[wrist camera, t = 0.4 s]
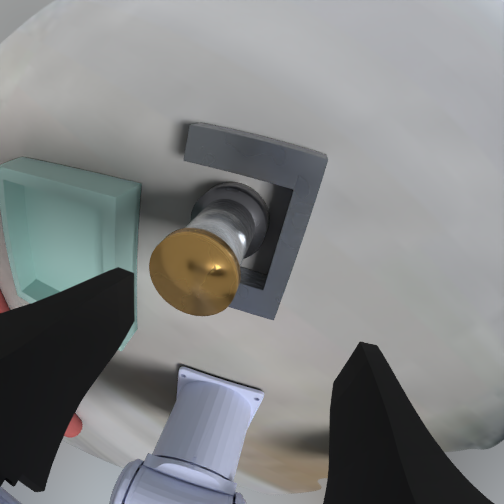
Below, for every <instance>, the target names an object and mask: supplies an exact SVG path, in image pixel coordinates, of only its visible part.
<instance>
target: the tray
mask: <svg viewBox="0 0 504 504" xmlns="http://www.w3.org/2000/svg"><path fill="white" fill-rule="evenodd" d="M141 186H142V184H141V183H137V182H133V181H129V180H125V179H121V178H117V177H112V176H108V175H104V174H100V173H95V172H91V171H87V170H82V169H78V168H73V167H69V166H64V165H60V164H55V163H50V162H46V161H41V160H36V159H31V158H26V157H20V158H17V159H14V160H11V161H9V162H6V163H3V164H1V165H0V210H1V218H2V225H3V231H4V237H5V243H6V248H7V253H8V258H9V262H10V267H11V271H12V275H13V279H14V283H15V287H16V291H17V294H18V296H19V297H21V298H22V299H24V300H26V301H27V302H29V303H30V304H31V303H34V302H36V301H39V300H41V299H43V298H46V297H49V296H51V295H54V294H56V293H59V292H61V291H63V290H66V289H68V288H70V287H72V286H75V285H77V284H79V283H82V282H84V281H86V280H88V279H91V278H93V277H95V276H97V275H100V274H102V273H104V272H107V271H109V270H112V269H114V268H117V267H119V268H122V269H125V270H127V271H130V272H133V273H134V315H135V321H134V323H133V325H132V327H131V328H130V330H129V332H128V334H127V336H126V338H125V339H124V341H123V343H122V344H121V346H120V347H119V349H118V350H119V351H122V350H123V349H124V347H125V346H126V344H127V343H128V341H129V340H130V339H131V337H132V336H133V334H134V333H135V332H136V330H137V245H138V225H139V210H140V197H141Z"/></svg>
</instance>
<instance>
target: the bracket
mask: <svg viewBox="0 0 504 504" xmlns="http://www.w3.org/2000/svg"><path fill="white" fill-rule="evenodd" d="M184 161H187V162H191V163H196V164H200V165H204V166H208V167H212V168H216V169H220V170H224V171H228V172H232V173H236V174H240V175H244V176H247V177H251V178H255V179H258V180H262V181H266V182H269V183H273V184H276V185H280V186H283V187H286V188H290V189H293V193H292V196H291V199H290V203H289V206H288V210H287V213H286V216H285V220H284V223H283V226H282V230H281V233H280V236H279V240H278V243H277V246H276V250H275V253H274V256H273V259H272V263H271V266H270V269H269V272H268V275H266V274H262V273H259V272H256V271H252V270H249V269H246V268H242V267H240V270H241V279H240V284H239V287H238V289H237V292H236V294H235V296H234V299H233V300H232V302H231V304H230V305H229V306H228V307H231V308H234V309H238V310H241V311H244V312H247V313H251V314H254V315H257V316H261V317H264V318H267V319H271V320H274V318H275V315H276V313H277V310H278V307H279V304H280V302H281V299H282V296H283V294H284V291H285V288H286V285H287V282H288V280H289V277H290V274H291V271H292V268H293V265H294V263H295V260H296V257H297V254H298V251H299V248H300V245H301V242H302V239H303V236H304V233H305V230H306V227H307V224H308V221H309V218H310V215H311V212H312V209H313V206H314V203H315V200H316V197H317V194H318V191H319V188H320V184H321V181H322V178H323V175H324V172H325V168H326V165H327V162H328V158H327V155H326V154H323V153H320V152H317V151H314V150H311V149H307V148H304V147H300V146H297V145H293V144H290V143H286V142H283V141H279V140H275V139H272V138H268V137H264V136H260V135H256V134H252V133H248V132H243V131H239V130H235V129H230V128H226V127H221V126H216V125H211V124H206V123H196V124H190V127H189V132H188V137H187V143H186V149H185V155H184Z"/></svg>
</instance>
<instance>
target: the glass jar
mask: <svg viewBox="0 0 504 504" xmlns="http://www.w3.org/2000/svg"><path fill="white" fill-rule="evenodd" d="M268 226H269V212H268V208H267V206H266V204H265V202H264V200H263V199H262V197H261V196H260V195H259V194H258V193H257V192H256V191H255V190H254V189H252V188H251V187H249V186H247V185H244V184H241V183H237V182H226V183H221V184H218V185H216V186H214V187H213V188H211V189H210V190H209V191H207V192H206V193H205V194H204V195H203V196H202V197H201V198H199V200H198V201H197V202H196V204H195V205H194V207H193V210H192V214H191V222H190V223H189V224H188V225H187V226H186V227H185V228H183V229H179V230H176V231H174V232H172V233H171V234H169V235H168V236H167V237H166V238H165V239H164V240H163V241H162V242H161V243H160V244H159V245H158V246H157V247H156V248H155V249H154V251H153V253H152V255H151V258H150V263H149V270H150V276H151V280H152V282H153V284H154V286H155V288H156V290H157V291H158V293H159V294H160V295H161V296H162V298H163V299H164V300H165V301H166V302H168V303H169V304H170V305H171V306H173V307H174V308H176V309H178V310H180V311H182V312H184V313H187V314H190V315H195V316H210V315H214V314H217V313H219V312H221V311H223V310H225V309H226V308H227V307H228V306H229V305H230V304H231V302H232V300H233V299H234V296H235V294H236V292H237V289H238V287H239V284H240V279H241V270H240V265H241V263H242V261H243V259H244V258H247V257H249V256H250V255H252V254H253V253H255V252H256V251H257V250H258V249H259V247H260V246H261V244H262V242H263V240H264V238H265V235H266V232H267V229H268Z"/></svg>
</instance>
